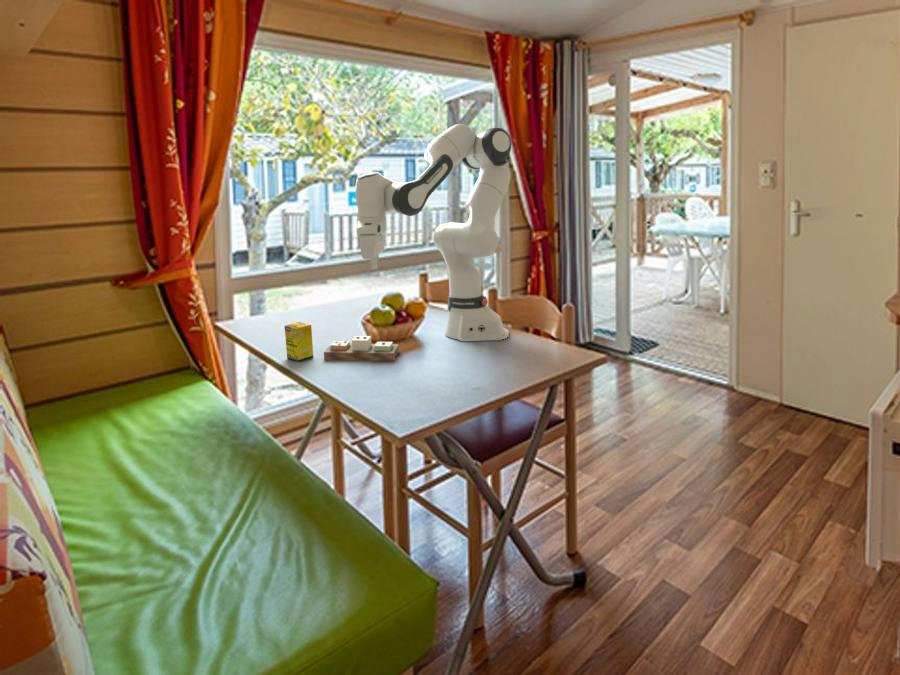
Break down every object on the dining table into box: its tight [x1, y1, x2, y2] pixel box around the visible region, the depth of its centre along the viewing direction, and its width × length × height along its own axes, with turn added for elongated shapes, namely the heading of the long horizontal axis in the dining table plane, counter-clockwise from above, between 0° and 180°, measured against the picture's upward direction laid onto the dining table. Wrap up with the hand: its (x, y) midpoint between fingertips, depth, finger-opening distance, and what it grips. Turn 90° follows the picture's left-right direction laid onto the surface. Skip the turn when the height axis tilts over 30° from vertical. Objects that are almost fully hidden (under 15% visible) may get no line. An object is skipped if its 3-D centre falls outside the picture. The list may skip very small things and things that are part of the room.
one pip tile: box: [374, 341, 394, 351], centre depth 198 cm, size 5×5×4 cm
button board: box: [323, 342, 400, 362], centre depth 199 cm, size 22×10×2 cm, turn 85°
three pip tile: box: [329, 340, 351, 350], centre depth 200 cm, size 5×5×4 cm
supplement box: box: [284, 321, 314, 363], centre depth 196 cm, size 6×6×11 cm
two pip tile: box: [351, 335, 372, 351], centre depth 199 cm, size 5×5×4 cm
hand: (374, 268), depth 203 cm, fingers closed
